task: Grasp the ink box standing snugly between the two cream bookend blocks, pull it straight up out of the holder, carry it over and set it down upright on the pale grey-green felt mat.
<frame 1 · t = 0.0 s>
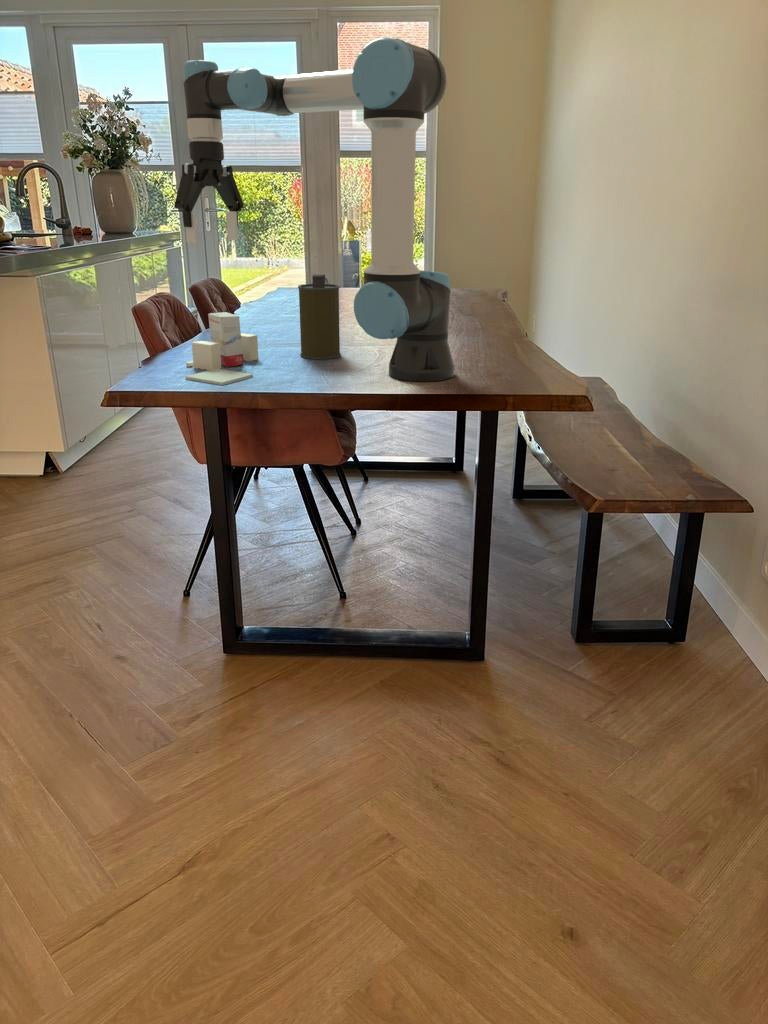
hand: (213, 241, 179), 28 cm above the table, fingers open, 13 cm apart
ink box: (227, 364, 187), on the table
canister: (320, 356, 197), on the table
holder: (227, 363, 187), on the table
mat: (219, 377, 172), on the table
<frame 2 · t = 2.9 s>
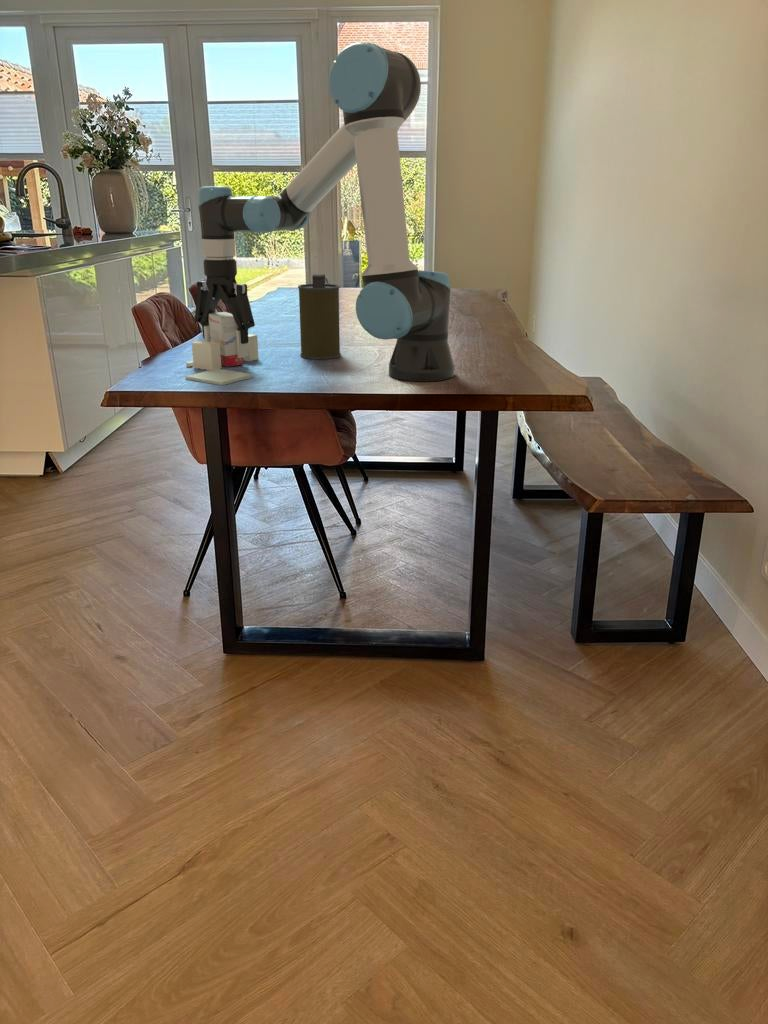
hand: (226, 354, 186), 2 cm above the table, fingers closed on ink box, 10 cm apart
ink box: (227, 364, 187), on the table, touching gripper
everything else where it was.
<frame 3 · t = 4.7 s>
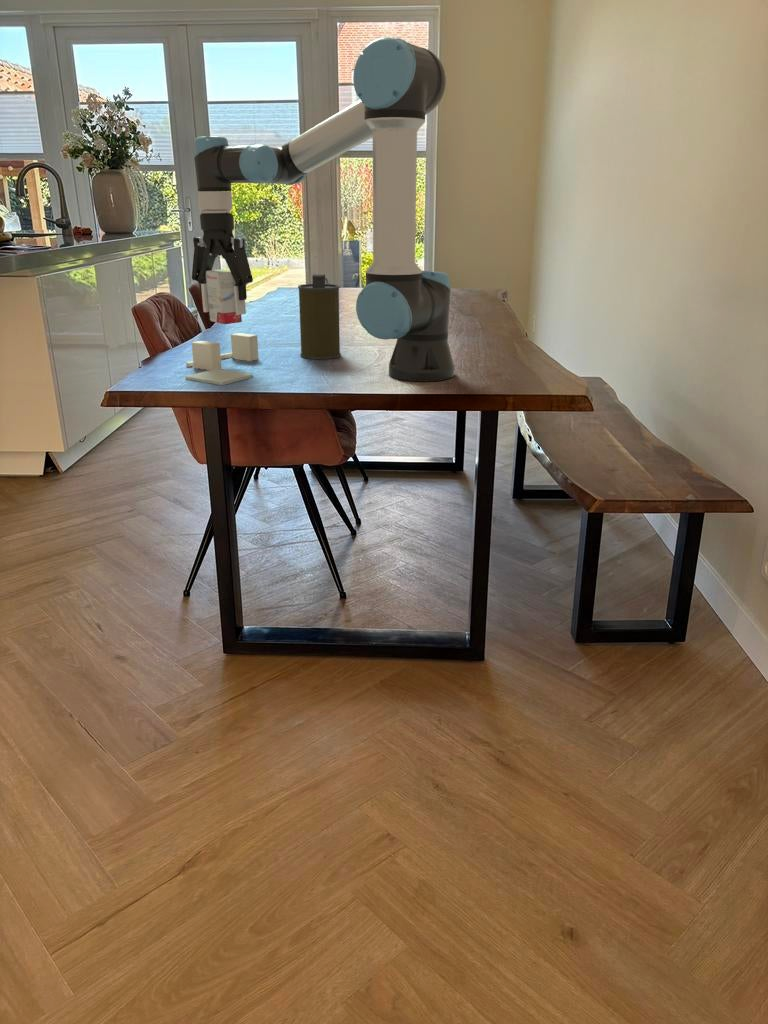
hand: (224, 312, 182), 12 cm above the table, fingers closed on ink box, 10 cm apart
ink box: (225, 323, 183), point 10 cm above the table, touching gripper
everything else where it was.
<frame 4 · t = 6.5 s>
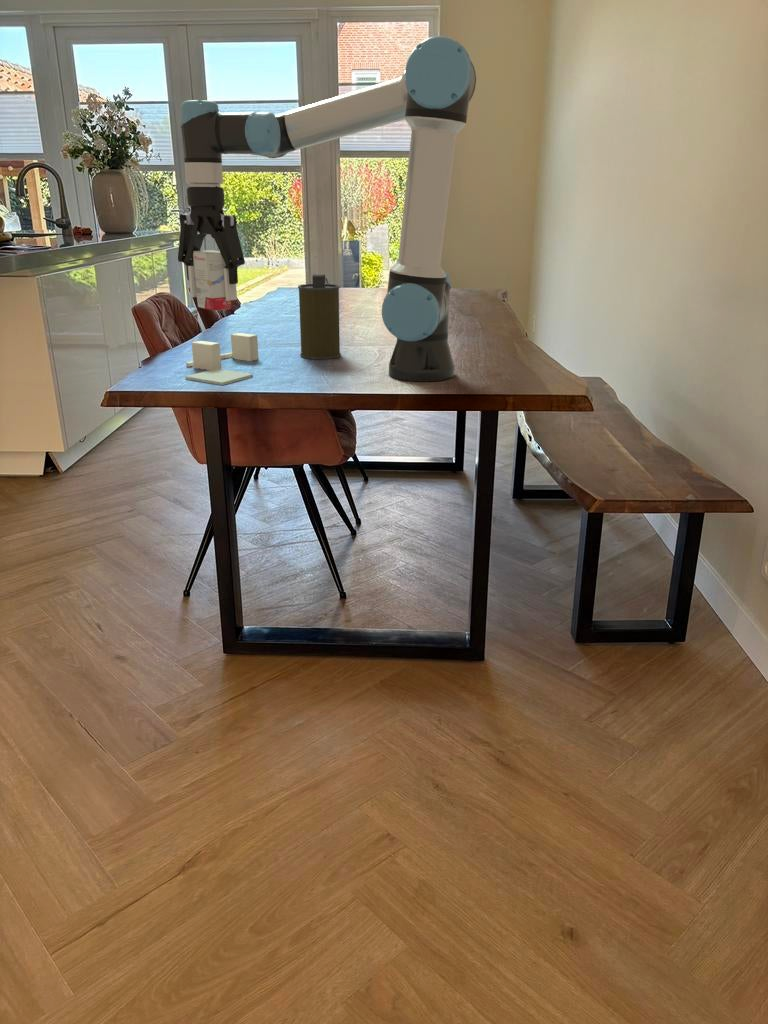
hand: (213, 298, 165), 17 cm above the table, fingers closed on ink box, 10 cm apart
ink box: (214, 309, 166), point 15 cm above the table, touching gripper
everything else where it was.
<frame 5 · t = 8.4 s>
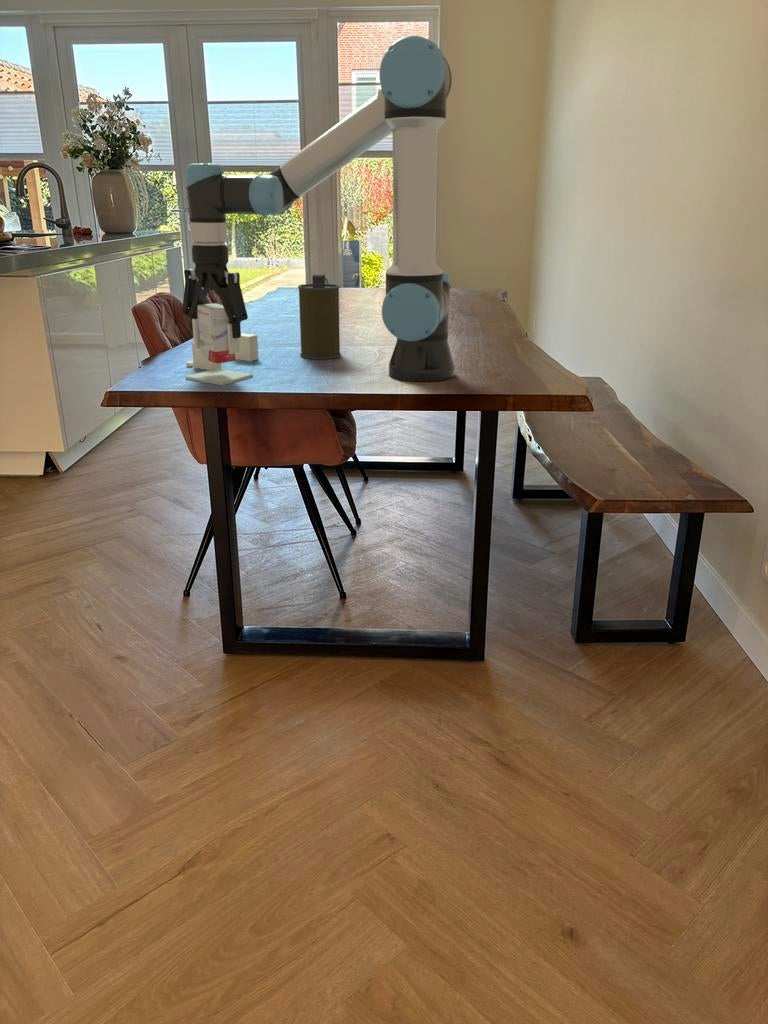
hand: (216, 350, 169), 6 cm above the table, fingers closed on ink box, 10 cm apart
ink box: (217, 360, 170), point 4 cm above the table, touching gripper
everything else where it was.
when the fingers open (4 cm above the table, at t = 9.9 s): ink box drops 1 cm, resting on mat.
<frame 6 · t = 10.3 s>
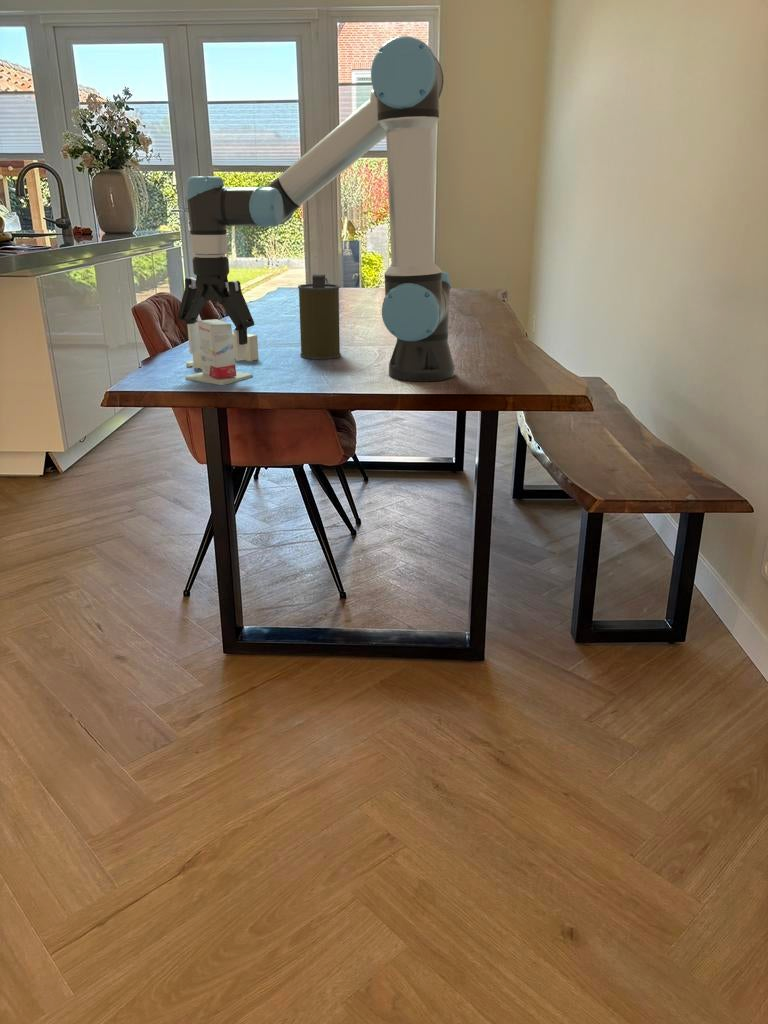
hand: (217, 356, 170), 5 cm above the table, fingers open, 13 cm apart
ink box: (218, 376, 172), resting on mat
everything else where it was.
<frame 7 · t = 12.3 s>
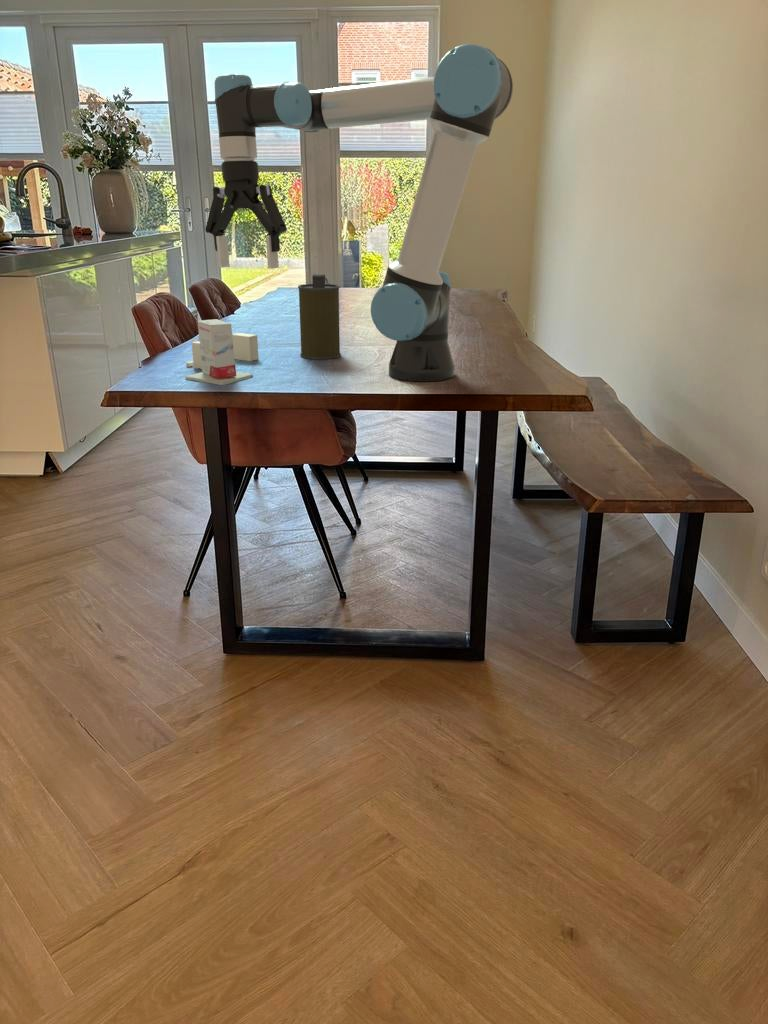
hand: (248, 267, 166), 23 cm above the table, fingers open, 13 cm apart
nothing on the table moved.
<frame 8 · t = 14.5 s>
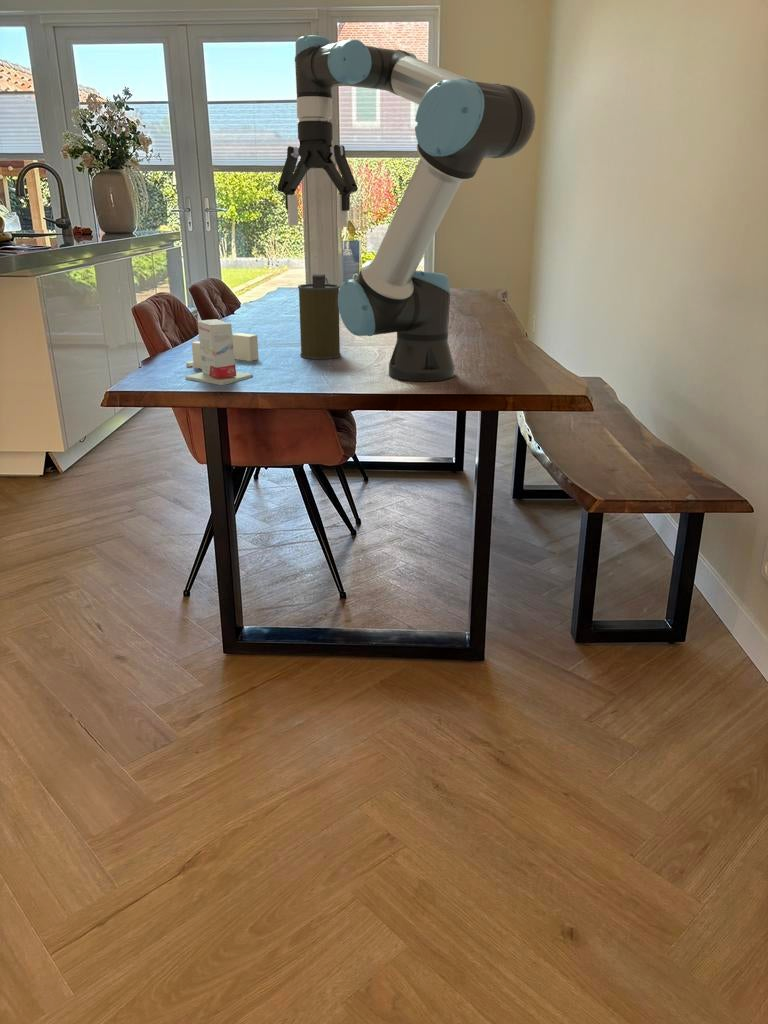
hand: (317, 226, 172), 32 cm above the table, fingers open, 13 cm apart
nothing on the table moved.
at the end: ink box inside the target area on the mat (0.1 cm from its centre), point 0.4 cm above the mat's base; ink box tilted 0°; the gripper is holding nothing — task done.
